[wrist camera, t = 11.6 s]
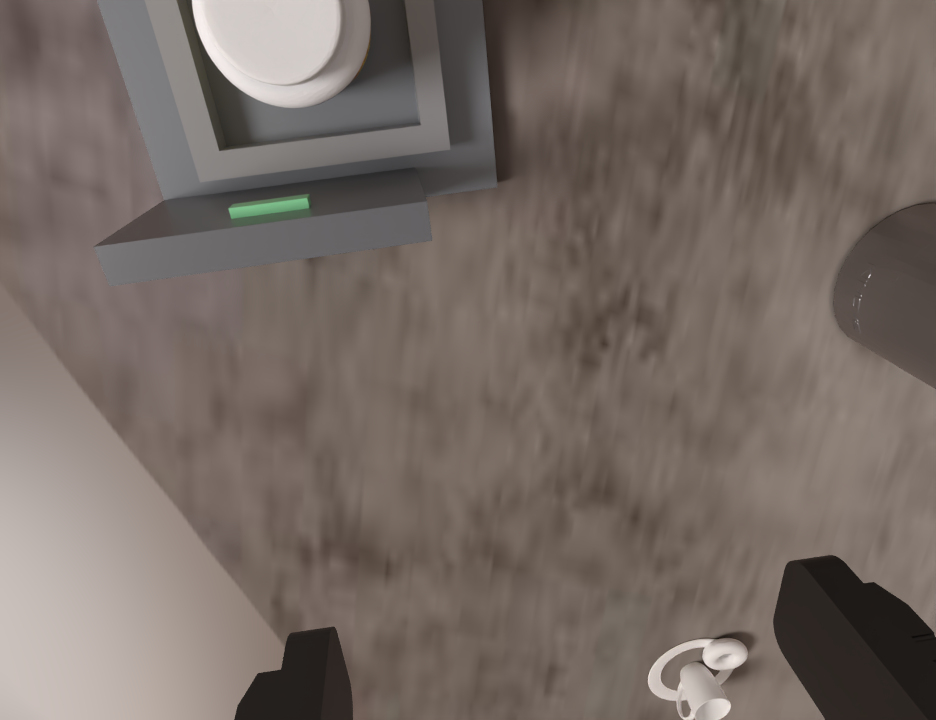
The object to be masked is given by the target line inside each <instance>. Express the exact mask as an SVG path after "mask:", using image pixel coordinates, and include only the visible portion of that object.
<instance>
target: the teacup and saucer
mask: <svg viewBox="0 0 936 720" xmlns="http://www.w3.org/2000/svg"><path fill="white" fill-rule="evenodd" d="M698 647H705V648H704V650H703V655H702V658H703V660H704V662H705V664H706V665H707V666H708V667H710V668H712V669H715V670H720V672H719V673H718V674H717V675H716V677H714V676H713V675H712V673H711V672H710V671H709V670H708V668H707V667H705V666H704V665H703V664H701V663H699V662H693V663H689V664H687V665H686V666H684V667H683V668H682V670H681V672H680V677H681V681H680V684H679V686H678V690H677V691H674V690H671V689H668V688H666V687H665V686H664V685H663V684H662V682H661V678H660V675H661V671H662V669H663V667H664V666H665V664H666V663H667V662H668V661H669V660H670V659H671V658H673V657H674V656H676V655H677V654H679V653H681V652H683V651H686V650H689V649H692V648H698ZM747 656H748V651H747V648H746V646H745V645H744V644H743V643H742V642H740V641H739V640H736V639H733V638H722V639H718V640H717V639H696V640H692V641H688V642H685V643H682V644H680V645H678V646H676V647H674V648H672V649H670V650H669V651H667V652H666V653H664V654H663V655H662V656H661V657H660V658H659V659H658V660H657V661H656V662H655V663H654V665H653V666H652V668H651V670H650V672H649V675H648V685H649V688H650V689H651V691H652V692H653V693H654V694H655V695H657V696H658V697H660V698H663V699H666V700H672V701H676V702H677V709H678V713H679V715H680V717H681V718H682V719H684V720H693V719H694V718H695V719H696V720H719V719H721V718H723V717H724V716H725V715H726V714H727V713H728V712H729V711H730V708H731V703H730V701H729V700H728V698H727V696H726V695H725V693H724V691H723V690H722V688H721V687H720V685H721V684H722V683H723V682H724V681H725V680H726V679H727V678H728V677H729V676H730V674H731V673H732V671H733V669H734V668H736V667H738V666H740V665H741V664H743V663H744V662H745V660H746V659H747ZM683 690H684V691H683ZM681 700H687V701H688V703H689V705H690V708H691V712H690V715H689V716H688V717H684V716H683V714H682V709H681Z"/></svg>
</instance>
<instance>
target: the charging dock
mask: <svg viewBox="0 0 936 720" xmlns="http://www.w3.org/2000/svg"><path fill="white" fill-rule="evenodd" d="M97 2H98V5H99V8H100V11H101V14H102V17H103V20H104V23H105V26H106V29H107V32H108V35H109V38H110V41H111V43H112V46H113V49H114V52H115V55H116V58H117V61H118V64H119V67H120V70H121V73H122V76H123V79H124V82H125V85H126V88H127V91H128V94H129V97H130V100H131V103H132V106H133V109H134V112H135V115H136V118H137V121H138V124H139V127H140V130H141V133H142V136H143V139H144V142H145V145H146V148H147V151H148V154H149V157H150V160H151V163H152V165H153V168H154V171H155V174H156V177H157V180H158V183H159V186H160V189H161V192H162V195H163V198H164V201H162V202H161V203H159V204H158V205H156V206H155V207H153V208H152V209H150V210H149V211H147V212H146V213H144V214H143V215H141V216H140V217H138V218H137V219H135V220H134V221H132V222H130V223H129V224H127V225H126V226H124V227H123V228H121V229H120V230H118V231H117V232H115V233H114V234H112V235H111V236H109V237H108V238H106V239H105V240H103V241H102V242H100V243H99V244H97V245H96V246H94V249H95V252H96V254H97V257H98V259H99V262H100V264H101V266H102V269H103V271H104V274H105V276H106V279H107V281H108V284H109V286H116V285H123V284H130V283H137V282H144V281H151V280H158V279H165V278H172V277H179V276H186V275H193V274H200V273H207V272H214V271H222V270H229V269H236V268H243V267H250V266H257V265H264V264H271V263H278V262H285V261H292V260H299V259H306V258H313V257H320V256H327V255H334V254H341V253H349V252H356V251H363V250H370V249H377V248H384V247H391V246H398V245H405V244H412V243H419V242H426V241H432V234H431V227H430V220H429V212H428V205H427V200H426V197H430V196H437V195H445V194H452V193H459V192H467V191H474V190H481V189H489V188H496V187H497V175H496V163H495V150H494V138H493V126H492V113H491V101H490V88H489V76H488V64H487V51H486V39H485V27H484V14H483V2H482V0H368V2H369V7H370V17H371V39H370V47H369V51H368V55H367V58H366V61H365V63H364V65H363V67H362V69H361V71H360V72H359V74H358V75H357V76H356V78H355V79H354V80H353V81H352V82H351V83H350V84H349V85H348V86H347V87H346V88H345V89H344V90H343V91H341V92H340V93H339V94H337V95H336V96H334V97H333V98H331V99H329V100H327V101H325V102H323V103H321V104H318V105H314V106H309V107H304V108H284V107H278V106H274V105H270V104H267V103H264V102H261V101H259V100H257V99H255V98H253V97H251V96H249V95H247V94H246V93H244V92H243V91H241V90H240V89H239V88H237V87H236V86H235V85H233V84H232V83H231V82H230V81H229V80H228V79H227V78H226V77H225V76H224V75H223V74H222V72H221V71H220V70H219V69H218V68H217V66H216V65H215V64H214V62H213V61H212V59H211V58H210V56H209V55H208V53H207V51H206V49H205V47H204V45H203V43H202V41H201V38H200V36H199V33H198V30H197V27H196V23H195V19H194V14H193V8H192V0H97Z"/></svg>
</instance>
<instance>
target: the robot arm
mask: <svg viewBox="0 0 936 720" xmlns="http://www.w3.org/2000/svg"><path fill="white" fill-rule="evenodd" d="M833 306H834V312H835V317H836V320H837V322H838V324H839V326H840V328H841V329H842V330H843V332H844V333H845V334H846V335H847V336H848V337H850V338H851V339H853V340H855V341H856V342H858V343H859V344H861V345H863V346H865V347H866V348H868V349H870V350H871V351H873V352H875V353H876V354H878V355H880V356H881V357H883V358H885V359H886V360H888V361H890V362H891V363H893V364H895V365H896V366H898V367H899V368H901V369H903V370H904V371H906V372H908V373H909V374H911V375H913V376H914V377H916V378H918V379H920V380H921V381H923V382H925V383H926V384H928V385H930V386H932V387H933V388H935V389H936V204H933V203H929V204H922V205H915V206H912V207H909V208H907V209H904V210H901V211H899V212H897V213H895V214H893V215H891V216H890V217H888V218H886V219H884V220H883V221H882V222H880V223H879V224H878V225H876V226H875V227H874V228H873V229H871V230H870V231H869V232H868V233H867V234H866V235H865V236H864V237H863V238H862V239H861V240H860V241H859V242H858V243H857V245H856V246H855V247H854V249H853V250H852V252H851V253H850V255H849V256H848V257H847V259H846V261H845V263H844V265H843V267H842V269H841V271H840V273H839V276H838V279H837V282H836V286H835V289H834V301H833ZM773 625H774V632H775V636H776V639H777V642H778V645H779V647H780V649H781V651H782V653H783V655H784V657H785V658H786V660H787V661H788V663H789V664H790V666H791V668H792V669H793V671H794V672H795V674H796V675H797V677H798V678H799V680H800V681H801V683H802V684H803V686H804V687H805V689H806V690H807V692H808V694H809V695H810V697H811V698H812V700H813V701H814V703H815V704H816V706H817V707H818V709H819V710H820V712H821V713H822V715H823V717H824V718H825V720H936V637H935V635H934V632H933V631H932V630H931V629H930V628H929V627H928V626H927V625H926V623H925V622H924V621H923V620H922V619H921V618H920V617H919V616H918V615H917V614H916V613H915V612H914V611H913V610H912V609H911V607H910V606H909V605H908V604H906V603H905V602H903V601H902V600H900V599H899V598H897V597H896V596H894V595H893V594H891V593H890V592H888V591H886V590H885V589H883V588H882V587H880V586H879V585H877V584H876V583H874V582H871V583H863V582H862V581H861V580H860V579H859V578H858V577H857V576H856V575H855V573H854V572H853V571H852V570H851V569H850V568H849V567H848V566H847V564H846V563H845V562H844V561H842V560H841V559H840V558H838V557H836V556H833V555H828V556H821V557H814V558H808V559H801V560H794V561H790V562H788V563H787V565H786V567H785V570H784V574H783V579H782V583H781V588H780V592H779V596H778V601H777V605H776V609H775V614H774V619H773ZM234 720H353V704H352V691H351V684H350V680H349V676H348V672H347V668H346V664H345V661H344V657H343V653H342V649H341V645H340V641H339V638H338V634H337V631H336V628H335V627H328V628H321V629H314V630H308V631H301V632H294V633H290V634H289V636H288V638H287V642H286V646H285V652H284V657H283V663H282V668H281V670H277V671H270V672H263V673H258V674H257V676H256V677H255V679H254V681H253V682H252V684H251V685H250V687H249V689H248V690H247V692H246V693H245V695H244V697H243V698H242V700H241V701H240V703H239V705H238V707H237V711H236V715H235V719H234Z"/></svg>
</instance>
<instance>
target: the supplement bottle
mask: <svg viewBox="0 0 936 720" xmlns="http://www.w3.org/2000/svg"><path fill="white" fill-rule="evenodd" d="M192 8H193V14H194V19H195V23H196V27H197V30H198V33H199V36H200V38H201V41H202V43H203V45H204V47H205V49H206V51H207V53H208V55H209V56H210V58H211V59H212V61H213V62H214V64H215V65H216V66H217V68H218V69H219V70H220V71H221V72H222V74H223V75H224V76H225V77H226V78H227V79H228V80H229V81H230V82H231V83H232V84H233V85H235V86H236V87H237V88H239V89H240V90H241V91H243V92H244V93H246V94H247V95H249V96H251V97H253V98H255V99H257V100H259V101H261V102H264V103H267V104H270V105H274V106H278V107H284V108H304V107H309V106H314V105H318V104H321V103H323V102H325V101H327V100H329V99H331V98H333V97H334V96H336V95H337V94H339V93H340V92H341V91H343V90H344V89H345V88H346V87H347V86H348V85H349V84H350V83H351V82H352V81H353V80H354V79H355V78H356V76H357V75H358V74H359V72H360V71H361V69H362V67H363V65H364V63H365V61H366V58H367V55H368V51H369V47H370V39H371V17H370V7H369V2H368V0H192Z"/></svg>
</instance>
